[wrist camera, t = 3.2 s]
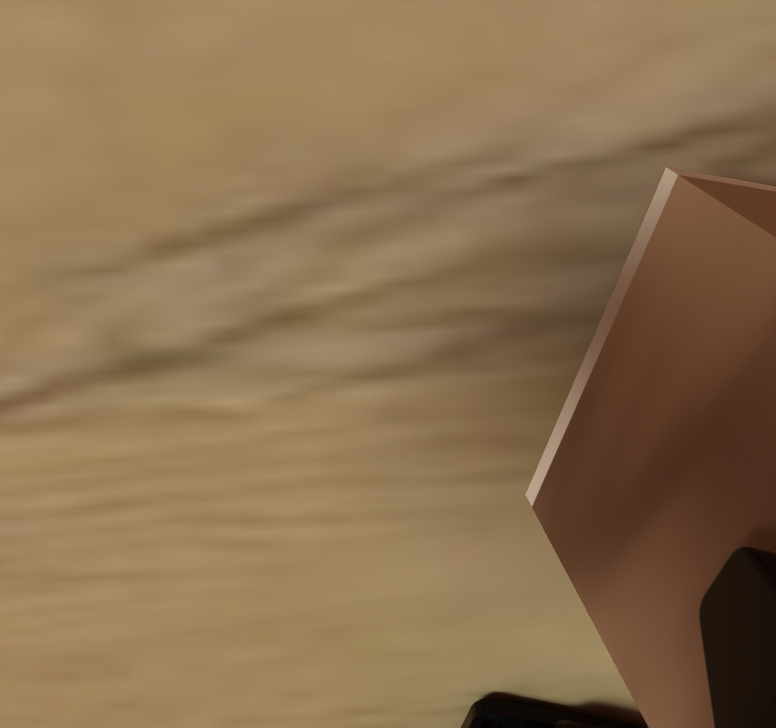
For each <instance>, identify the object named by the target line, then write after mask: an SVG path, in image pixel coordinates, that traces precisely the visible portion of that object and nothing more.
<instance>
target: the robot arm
mask: <svg viewBox="0 0 776 728" xmlns="http://www.w3.org/2000/svg"><path fill="white" fill-rule="evenodd" d="M699 623H700V630H701V637H702V644H703V651H704V658H705V665H706V672H707V679H708V686H709V693H710V700H711V707H712V714H713V721H714V728H776V553H775V552H770V551H766V550H761V549H756V548H752V547H740V548H738V549H736V550H735V551H733V553H732V554H731V555H730V556H729V558H728V559H727V561H726V562H725V564H724V566H723V567H722V569H721V570H720V572H719V573H718V575H717V576H716V578H715V579H714V581H713V582H712V584H711V585H710V587H709V588H708V590H707V591H706V593H705V594H704V596H703V598H702V601H701V604H700V609H699ZM461 728H638V727H634V726H629V725H624V724H619V723H614V722H609V721H604V720H599V719H594V718H589V717H584V716H579V715H574V714H569V713H564V712H559V711H554V710H549V709H544V708H539V707H534V706H529V705H524V704H520V703H515V702H510V701H505V700H500V699H492V698H487V699H481V700H479V701H477V702H475V703H474V704H473V705H472V706H471V708H470V710H469V712H468V714H467V716H466V719H465V721H464V723H463V725H462V727H461Z"/></svg>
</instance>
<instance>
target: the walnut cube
mask: <svg viewBox="0 0 776 728" xmlns="http://www.w3.org/2000/svg"><path fill="white" fill-rule="evenodd" d="M526 497H527V498H528V500H529V502H530V504H531V506H532V508H533V510H534V512H535V514H536V515H537V517H538V519H539V521H540V523H541V525H542V527H543V529H544V531H545V532H546V534H547V536H548V538H549V540H550V542H551V544H552V546H553V548H554V549H555V551H556V553H557V555H558V557H559V559H560V561H561V563H562V565H563V566H564V568H565V570H566V572H567V574H568V576H569V578H570V580H571V582H572V583H573V585H574V587H575V589H576V591H577V593H578V595H579V597H580V599H581V601H582V602H583V604H584V606H585V608H586V610H587V612H588V614H589V616H590V618H591V619H592V621H593V623H594V625H595V627H596V629H597V631H598V633H599V635H600V636H601V638H602V640H603V642H604V644H605V646H606V648H607V650H608V652H609V653H610V655H611V657H612V659H613V661H614V663H615V665H616V667H617V669H618V670H619V672H620V674H621V676H622V678H623V680H624V682H625V684H626V686H627V687H628V689H629V691H630V693H631V695H632V697H633V699H634V701H635V703H636V704H637V706H638V708H639V710H640V712H641V714H642V716H643V718H644V720H645V721H646V723H647V725H648V727H649V728H714V721H713V714H712V707H711V700H710V693H709V686H708V679H707V672H706V665H705V658H704V651H703V644H702V637H701V630H700V623H699V609H700V604H701V601H702V598H703V596H704V594H705V593H706V591H707V590H708V588H709V587H710V585H711V584H712V582H713V581H714V579H715V578H716V576H717V575H718V573H719V572H720V570H721V569H722V567H723V566H724V564H725V562H726V561H727V559H728V558H729V556H730V555H731V554H732V553H733V551H735V550H736V549H738V548H740V547H752V548H756V549H761V550H766V551H770V552H775V553H776V186H771V185H765V184H760V183H754V182H748V181H742V180H737V179H731V178H725V177H719V176H714V175H708V174H702V173H696V172H691V171H685V170H679V169H674V168H668V167H666V169H665V171H664V173H663V176H662V178H661V180H660V183H659V185H658V187H657V190H656V192H655V194H654V197H653V199H652V201H651V204H650V206H649V208H648V211H647V213H646V215H645V218H644V220H643V222H642V225H641V227H640V229H639V232H638V234H637V236H636V239H635V241H634V243H633V246H632V248H631V250H630V253H629V255H628V257H627V260H626V262H625V264H624V267H623V269H622V271H621V274H620V276H619V278H618V281H617V283H616V285H615V288H614V290H613V292H612V295H611V297H610V299H609V302H608V304H607V306H606V309H605V311H604V313H603V316H602V318H601V320H600V323H599V325H598V327H597V330H596V332H595V334H594V337H593V339H592V341H591V344H590V346H589V348H588V350H587V353H586V355H585V357H584V360H583V362H582V364H581V367H580V369H579V371H578V374H577V376H576V378H575V381H574V383H573V385H572V388H571V390H570V392H569V395H568V397H567V399H566V402H565V404H564V406H563V409H562V411H561V413H560V416H559V418H558V420H557V423H556V425H555V427H554V430H553V432H552V434H551V437H550V439H549V441H548V444H547V446H546V448H545V451H544V453H543V455H542V458H541V460H540V462H539V465H538V467H537V469H536V472H535V474H534V476H533V479H532V481H531V483H530V486H529V488H528V490H527V493H526Z"/></svg>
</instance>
